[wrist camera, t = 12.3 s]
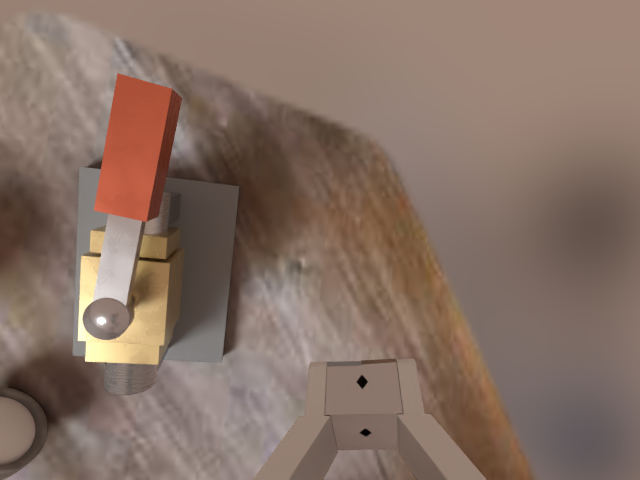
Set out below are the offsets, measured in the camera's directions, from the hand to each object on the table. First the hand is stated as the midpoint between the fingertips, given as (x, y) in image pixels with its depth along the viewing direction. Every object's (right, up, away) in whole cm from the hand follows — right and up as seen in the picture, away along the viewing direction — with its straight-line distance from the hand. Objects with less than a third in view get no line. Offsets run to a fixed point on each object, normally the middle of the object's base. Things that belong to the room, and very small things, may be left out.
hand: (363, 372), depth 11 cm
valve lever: (-14, +6, +15) cm, 21 cm away
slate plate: (-17, +1, +28) cm, 33 cm away
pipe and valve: (-17, +1, +26) cm, 31 cm away
